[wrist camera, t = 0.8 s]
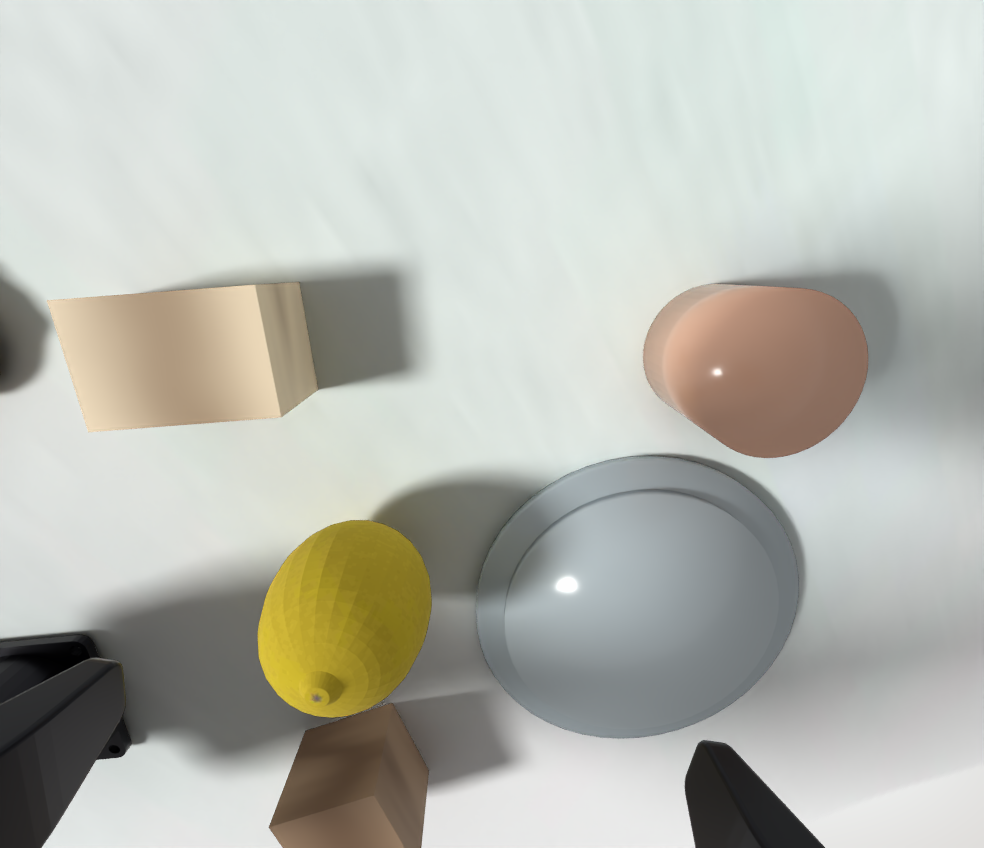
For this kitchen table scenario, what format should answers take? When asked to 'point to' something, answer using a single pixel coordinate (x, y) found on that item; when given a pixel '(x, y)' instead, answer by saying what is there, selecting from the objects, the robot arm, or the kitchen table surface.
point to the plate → (636, 597)
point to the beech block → (187, 355)
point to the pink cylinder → (758, 364)
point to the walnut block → (354, 786)
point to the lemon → (344, 619)
